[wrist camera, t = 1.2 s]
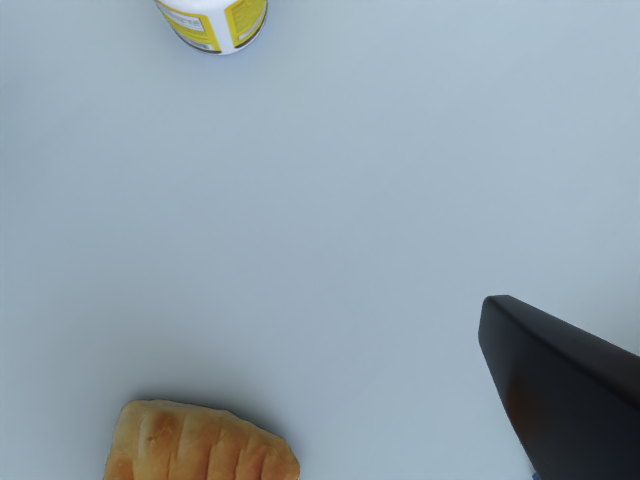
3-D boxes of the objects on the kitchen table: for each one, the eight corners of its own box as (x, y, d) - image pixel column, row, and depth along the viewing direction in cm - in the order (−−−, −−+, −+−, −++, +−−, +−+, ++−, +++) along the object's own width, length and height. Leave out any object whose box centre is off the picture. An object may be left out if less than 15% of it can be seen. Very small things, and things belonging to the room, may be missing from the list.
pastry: (304, 403, 25) (310, 442, 22) (289, 521, 26) (292, 578, 22) (121, 389, 24) (93, 426, 21) (111, 511, 25) (82, 570, 21)
